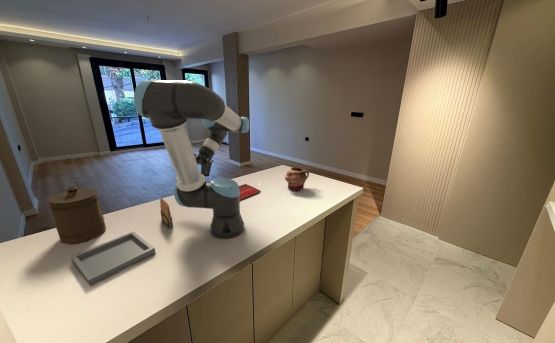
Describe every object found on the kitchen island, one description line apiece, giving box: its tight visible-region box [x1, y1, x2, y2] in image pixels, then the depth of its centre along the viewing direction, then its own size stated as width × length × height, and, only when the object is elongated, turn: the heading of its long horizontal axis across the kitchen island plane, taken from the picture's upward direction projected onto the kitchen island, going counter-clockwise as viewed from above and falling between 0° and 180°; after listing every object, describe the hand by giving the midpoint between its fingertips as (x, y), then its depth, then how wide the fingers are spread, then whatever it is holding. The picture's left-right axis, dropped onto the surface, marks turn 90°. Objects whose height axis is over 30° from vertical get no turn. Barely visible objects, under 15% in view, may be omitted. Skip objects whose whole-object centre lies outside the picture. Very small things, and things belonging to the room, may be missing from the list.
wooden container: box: [48, 185, 107, 245], centre depth 91 cm, size 15×15×22 cm
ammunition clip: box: [159, 197, 174, 230], centre depth 102 cm, size 11×2×12 cm, turn 43°
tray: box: [70, 231, 156, 287], centre depth 81 cm, size 18×20×2 cm
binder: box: [239, 183, 262, 202], centre depth 140 cm, size 16×2×21 cm
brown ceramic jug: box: [284, 167, 310, 191], centre depth 149 cm, size 20×12×14 cm, turn 130°
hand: (185, 183), depth 108 cm, fingers open, 13 cm apart
